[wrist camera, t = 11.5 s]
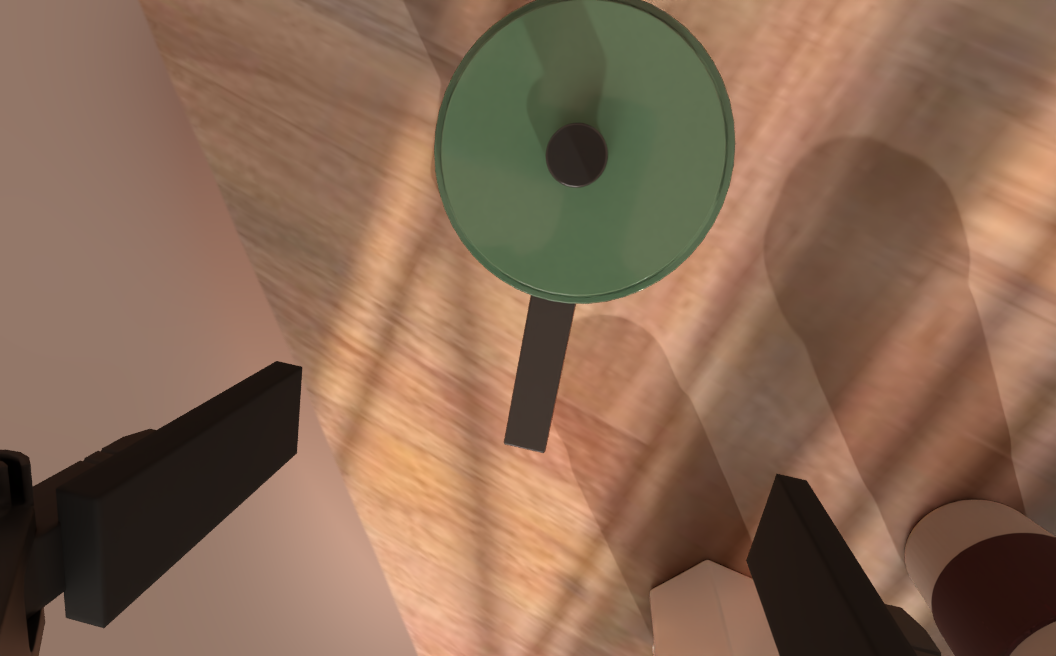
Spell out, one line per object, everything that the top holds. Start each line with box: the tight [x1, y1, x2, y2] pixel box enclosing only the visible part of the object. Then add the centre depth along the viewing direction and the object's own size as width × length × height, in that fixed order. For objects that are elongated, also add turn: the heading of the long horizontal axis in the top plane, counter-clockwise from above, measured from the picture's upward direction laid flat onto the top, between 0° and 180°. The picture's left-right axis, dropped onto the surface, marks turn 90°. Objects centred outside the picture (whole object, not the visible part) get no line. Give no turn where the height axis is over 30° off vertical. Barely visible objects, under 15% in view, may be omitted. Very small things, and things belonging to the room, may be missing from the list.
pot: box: [434, 0, 735, 453], centre depth 26 cm, size 12×19×11 cm, turn 170°
